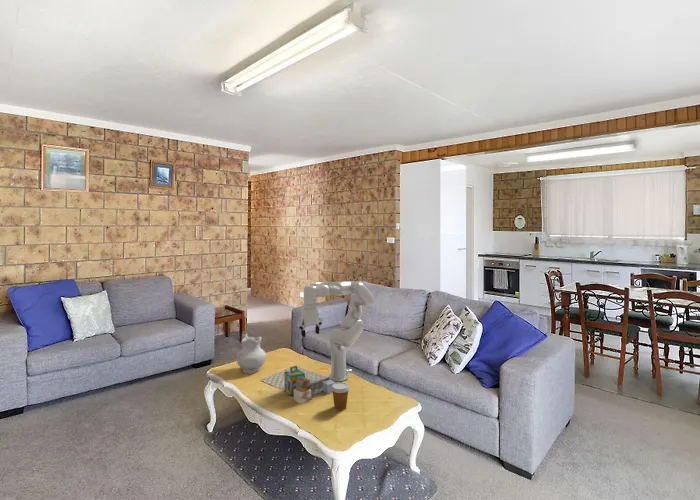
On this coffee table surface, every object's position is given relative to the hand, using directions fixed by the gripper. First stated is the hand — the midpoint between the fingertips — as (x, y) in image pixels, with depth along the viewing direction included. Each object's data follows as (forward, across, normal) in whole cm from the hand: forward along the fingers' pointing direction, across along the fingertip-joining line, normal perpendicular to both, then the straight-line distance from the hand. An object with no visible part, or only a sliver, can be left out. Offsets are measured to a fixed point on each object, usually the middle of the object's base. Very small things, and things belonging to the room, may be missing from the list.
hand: (310, 335), depth 227 cm
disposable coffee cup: (+32, +1, +30) cm, 45 cm away
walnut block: (+26, +12, +10) cm, 31 cm away
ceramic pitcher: (+32, +16, -51) cm, 62 cm away
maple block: (+32, +12, +10) cm, 36 cm away
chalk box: (+33, +10, -2) cm, 34 cm away
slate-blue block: (+32, -6, +10) cm, 34 cm away
